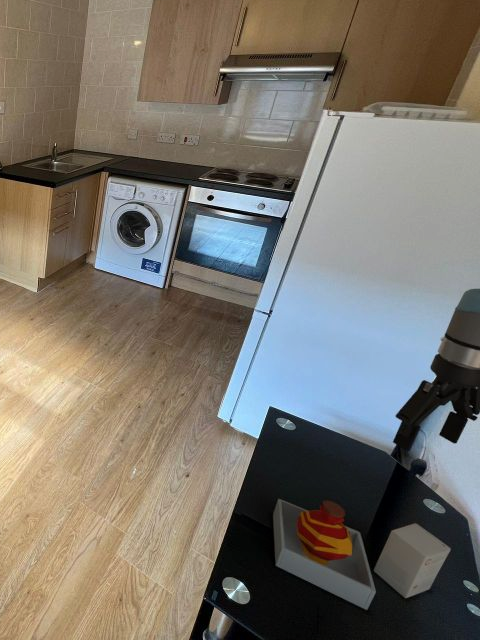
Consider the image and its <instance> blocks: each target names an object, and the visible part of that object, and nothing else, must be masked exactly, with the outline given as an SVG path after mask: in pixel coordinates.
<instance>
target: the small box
mask: <svg viewBox="0 0 480 640" xmlns="http://www.w3.org/2000/svg"><path fill="white" fill-rule="evenodd" d="M450 552H451V547H450V546H448V545H447V544H446V543H444V542H443V541H442V540H440V539H439V538H438V537H436V536H435V535H433V534H432V533H431V532H429V531H428V530H426V529H425V528H424V527H422V526H421V525H419V524H418V523H416V522H414V523H411V524H408V525H404V526H401V527H398V528H396V529H395V528H394V529H392V530H391V531H390V533H389V535H388V538H387V540H386V542H385V544H384V546H383V548H382V551H381V553H380V555H379V557H378V560H377V562H376V564H375V566H374V568H373V572H374V573H375V574H377V575H378V576H379V577H380V578H381V579H382V580H383V581H384V582H386V584H388V585H389V586H390V587H391V588H393V589H394V590H395V591H396V592H397V593H398V594H399V595H401V596H402V597H403V598H404V599H408V598H410V597H413V596H416V595H418V594H422V593H424V592H426V591H428V590H430V589H431V587H432V585H433V583H434V582H435V580H436V578H437V575H438V574H439V572H440V570H441V568H442V566H443V565H444V562H445V561H446V559H447V557H448V556H449V553H450Z"/></svg>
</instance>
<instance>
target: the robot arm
mask: <svg viewBox="0 0 480 640" xmlns="http://www.w3.org/2000/svg"><path fill="white" fill-rule="evenodd" d="M440 341H441V342H440V345H439V347H438V349H437V353H436V354H435V355H434V357H433V360H432V362H431V364H430V367H429V368H430V370H431V372H432V373H433V374H434V375H435V376H436V377H435V379H434V380H433V381H432V382H430V381H428V380H426V379H423V380H421V382H420V383H419V386H418V387H417V389H416V391H414V393H413V394H412V395H411V396H410V398H409V399H407V401H406V402H405V403H404V405H403V406H402V407H401V408H400V409H399V410H398V411H397V413H396V414H395V418H396V419H398V420H399V421H401V422H400V424H399V426H398V429H397V431H396V433H395V436H394V438H393V441H392V443H393V444H395V445H396V446H398V447H399V448H401V449H403V450H404V451H406V452H410V451H411V449H412V447H413V445H414V443H415V442H416V441H415V440H416V439H417V436H418V434H419V431H420V430H421V426H420V424H421V423H423V422H424V421H425V420H426V419H428V417H429V416H430V415H431V414H432V413H433V412H434V411H436V410H437V409H438V408H439V407H441V406H442V407H443V406H446V405H447V404H448V403H449V402H450V403H451V405H452V409H453V411H449V412H448V415H447V417H446V419H445V421H444V423H443V425H442V427H441V429H440V432H439V433H438V436H439V437H442V438H443V439H445V440H447V441H449V442H450V443H452V444H453V445H455V444H457V443H458V442H459V440H460V438H461V436H462V433H463V431H464V429H465V427H466V426H467V424H468V422H469V420H471V421H473V422H475V421H477V420H478V418H479V417H478V415H480V288H470V289H467V290H465V291H464V292H463V294H462V296H461V298H460V300H459V302H458V304H457V306H455V308H454V311H453V314H452V316H451V319H450V321H449V323H448V326H447V328H446V330H445V333H444V336H442V337H440Z"/></svg>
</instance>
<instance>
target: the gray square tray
mask: <svg viewBox="0 0 480 640" xmlns="http://www.w3.org/2000/svg"><path fill="white" fill-rule="evenodd" d="M306 511H308V510H307V509H305V508H303V507H301V506H298V505H295V504H293V503H291V502H288V501H285V500H283V499H280V498H278V499H277V502H276V505H275V508H274V510H273V514H272V521H273V523H272V524H273V541H274V543H273V544H274V559H275V560H274V561H275V562H274V563H275V567H277V568H279V569H282V570H284V571H285V572H287V573H290V574H292V575H294V576H296V577H298V578H300V579H302V580H304V581H307V582H308V583H310V584H312V585H314V586H317V588H318V587H319V588H320V589H322V590H324V591H327V592H329V593H331V594H333V595H335V596H337V597H339V598H342V599H343V600H345V601H347V602H349V603H351V604H353V605H355V606H357V607H360V608H362V609H364V610H365V611H368V609H369V607H370V605H371V603H372V601H373V599H374V597H375V595H376V594H377V591H376V587H375V583H374V579H373V575H372V571H371V568H370V564H369V561H368V556H367V553H366V550H365V545H364V542H363V538H362V534H361V532H360V531H358V530H356V529H354V528H351V527H348V526H346V525H344V526H345V527H346V528H347V529H348V530H349V531H350V532H351V541H352V555H348V556H347V557H346V558H344V559H338V560H332V561H329V564H328V565H321V564H319V563H317V562H315V561H313V560H310V559H309V558H308V557H307V556H306V555H305V554H304V553H303V551H302V543H301V541H300V539H299V537H298V534H297V525H296V522H298V517H299V516H300V513H301V512H306ZM349 538H350V534H349Z"/></svg>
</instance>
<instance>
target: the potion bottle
mask: <svg viewBox="0 0 480 640" xmlns="http://www.w3.org/2000/svg"><path fill="white" fill-rule="evenodd" d="M319 509H320V510H319ZM319 509H313V510H307V511H306V512H301V513H300V516H299V517H298V522H296V525H297V534H298V537H299V539H300V541H301V543H302V551H303V553H304V554H305V555H306V556H307V557H308V558H309V559H310V560H313V561H315V562H317V563H319V564H321V565H328V564H329V561H332V560H338V559H344V558H346V557H347V556H348V555H352V541H351V532H350V531H349V530H348V529H347V528H346V527H347V526H346V525H345V524H343V522H345V518H344V517H345V516H346V510H345V509H344V508H343V507H342V506H341V505H340V504H338V503H336V502H334V501H332V500H322V504H321V505H319ZM345 526H346V527H345ZM349 534H350V538H349Z"/></svg>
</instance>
